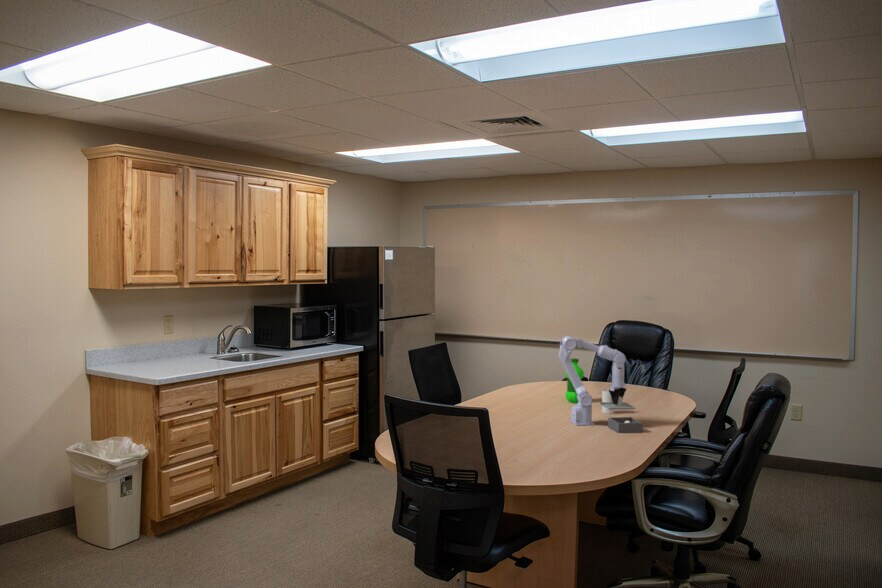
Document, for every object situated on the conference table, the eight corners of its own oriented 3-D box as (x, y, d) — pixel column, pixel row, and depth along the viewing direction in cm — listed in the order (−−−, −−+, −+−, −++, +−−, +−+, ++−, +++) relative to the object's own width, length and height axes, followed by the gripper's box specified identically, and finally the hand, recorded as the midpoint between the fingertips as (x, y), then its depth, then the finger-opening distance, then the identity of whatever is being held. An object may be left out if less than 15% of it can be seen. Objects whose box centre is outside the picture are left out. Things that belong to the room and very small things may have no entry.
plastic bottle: (581, 400, 379) (582, 357, 378) (583, 404, 368) (584, 360, 367) (564, 400, 380) (565, 357, 379) (565, 403, 369) (566, 359, 368)
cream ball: (625, 428, 311) (626, 421, 311) (623, 426, 314) (623, 419, 314) (632, 427, 312) (632, 421, 311) (629, 426, 315) (629, 419, 315)
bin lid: (609, 409, 313) (609, 399, 313) (600, 404, 326) (600, 394, 326) (635, 409, 314) (635, 399, 314) (625, 403, 327) (625, 394, 327)
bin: (618, 433, 303) (618, 423, 303) (607, 426, 315) (608, 417, 315) (642, 432, 305) (642, 422, 305) (631, 426, 317) (631, 417, 317)
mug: (601, 413, 345) (602, 391, 344) (601, 411, 351) (601, 388, 351) (621, 414, 343) (622, 392, 342) (620, 412, 349) (621, 389, 349)
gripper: (620, 378, 311) (619, 406, 312) (631, 375, 323) (630, 402, 323) (606, 377, 316) (605, 404, 316) (617, 373, 327) (616, 400, 328)
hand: (617, 403), depth 320 cm, fingers closed on bin lid, 5 cm apart
